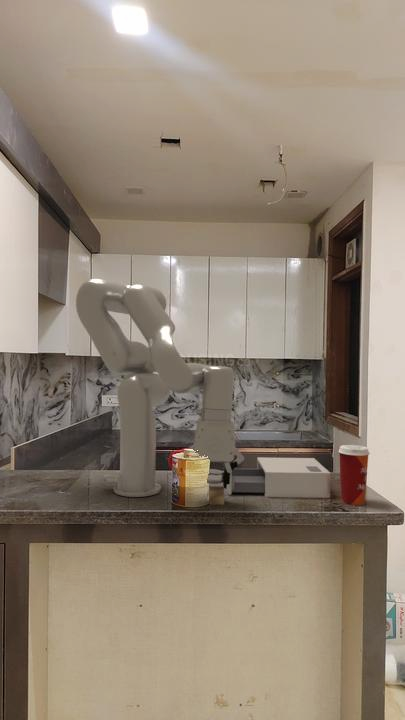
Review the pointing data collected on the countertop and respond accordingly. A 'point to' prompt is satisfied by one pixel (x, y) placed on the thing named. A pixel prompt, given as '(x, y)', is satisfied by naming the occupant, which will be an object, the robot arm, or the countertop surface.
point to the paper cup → (353, 473)
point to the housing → (295, 477)
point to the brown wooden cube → (216, 495)
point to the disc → (215, 476)
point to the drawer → (246, 480)
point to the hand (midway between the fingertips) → (211, 485)
